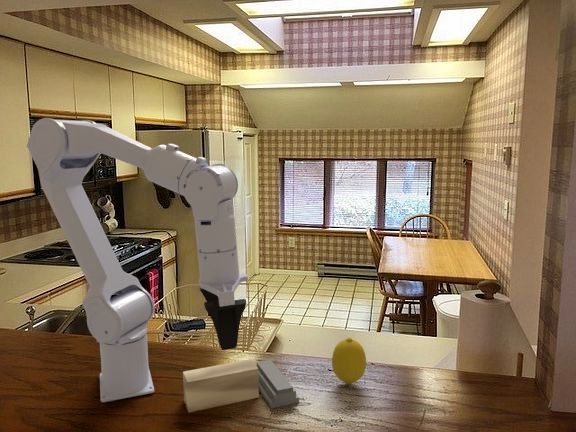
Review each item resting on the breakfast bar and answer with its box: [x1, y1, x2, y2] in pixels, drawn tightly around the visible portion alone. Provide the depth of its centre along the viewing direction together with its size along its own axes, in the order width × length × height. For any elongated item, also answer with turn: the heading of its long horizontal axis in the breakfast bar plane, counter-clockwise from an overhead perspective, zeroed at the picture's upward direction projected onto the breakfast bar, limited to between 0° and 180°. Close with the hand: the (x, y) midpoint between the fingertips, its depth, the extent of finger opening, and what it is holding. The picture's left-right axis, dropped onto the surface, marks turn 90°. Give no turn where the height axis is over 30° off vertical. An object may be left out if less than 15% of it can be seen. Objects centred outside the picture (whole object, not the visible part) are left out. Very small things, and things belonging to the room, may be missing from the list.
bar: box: [182, 358, 260, 413], centre depth 75 cm, size 4×11×5 cm, turn 113°
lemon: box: [331, 337, 367, 386], centre depth 79 cm, size 6×6×8 cm
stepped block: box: [256, 359, 300, 409], centre depth 77 cm, size 10×4×3 cm, turn 22°
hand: (225, 338), depth 71 cm, fingers open, 7 cm apart
